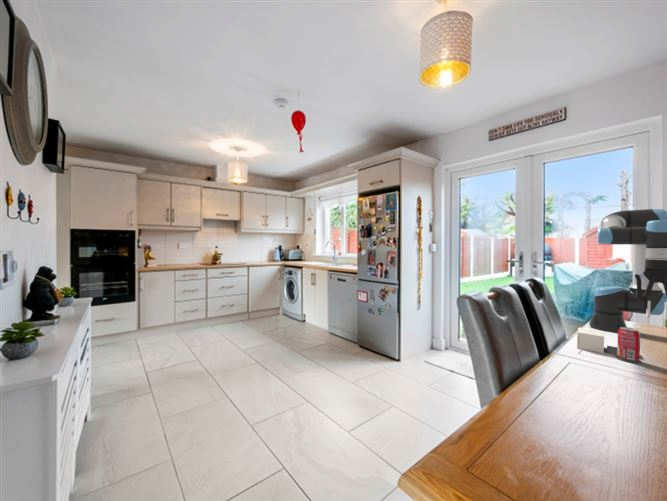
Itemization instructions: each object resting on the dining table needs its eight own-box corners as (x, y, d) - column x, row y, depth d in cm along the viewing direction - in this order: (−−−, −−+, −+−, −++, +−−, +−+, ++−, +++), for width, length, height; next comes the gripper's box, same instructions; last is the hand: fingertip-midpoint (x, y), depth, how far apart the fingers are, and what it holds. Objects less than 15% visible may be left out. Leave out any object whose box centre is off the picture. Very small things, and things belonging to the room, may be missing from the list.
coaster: (615, 355, 119) (615, 354, 119) (640, 359, 114) (640, 358, 114) (616, 360, 114) (616, 359, 114) (642, 365, 109) (642, 364, 109)
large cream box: (577, 348, 127) (577, 332, 126) (578, 342, 135) (578, 327, 135) (603, 353, 121) (604, 336, 121) (602, 346, 129) (603, 331, 129)
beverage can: (629, 356, 117) (630, 326, 117) (644, 362, 111) (645, 331, 110) (612, 355, 117) (613, 326, 117) (626, 361, 111) (627, 330, 111)
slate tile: (606, 350, 126) (606, 345, 126) (636, 355, 120) (636, 350, 120) (607, 353, 122) (607, 349, 122) (638, 359, 116) (638, 354, 116)
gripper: (629, 258, 117) (627, 315, 117) (696, 260, 106) (693, 324, 106) (627, 258, 123) (625, 312, 123) (690, 260, 111) (688, 320, 112)
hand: (657, 318), depth 115 cm, fingers open, 4 cm apart
